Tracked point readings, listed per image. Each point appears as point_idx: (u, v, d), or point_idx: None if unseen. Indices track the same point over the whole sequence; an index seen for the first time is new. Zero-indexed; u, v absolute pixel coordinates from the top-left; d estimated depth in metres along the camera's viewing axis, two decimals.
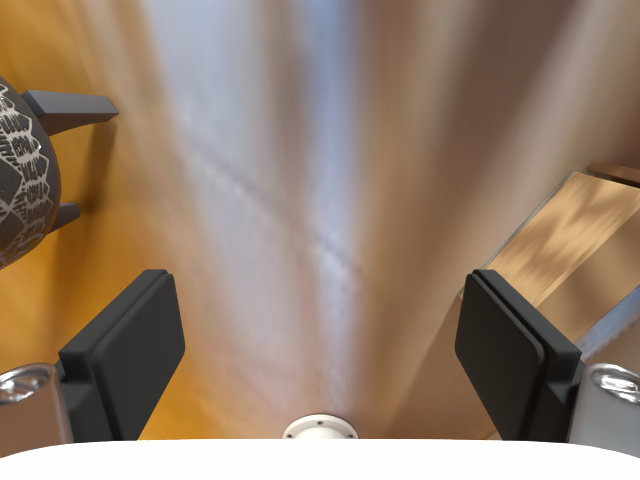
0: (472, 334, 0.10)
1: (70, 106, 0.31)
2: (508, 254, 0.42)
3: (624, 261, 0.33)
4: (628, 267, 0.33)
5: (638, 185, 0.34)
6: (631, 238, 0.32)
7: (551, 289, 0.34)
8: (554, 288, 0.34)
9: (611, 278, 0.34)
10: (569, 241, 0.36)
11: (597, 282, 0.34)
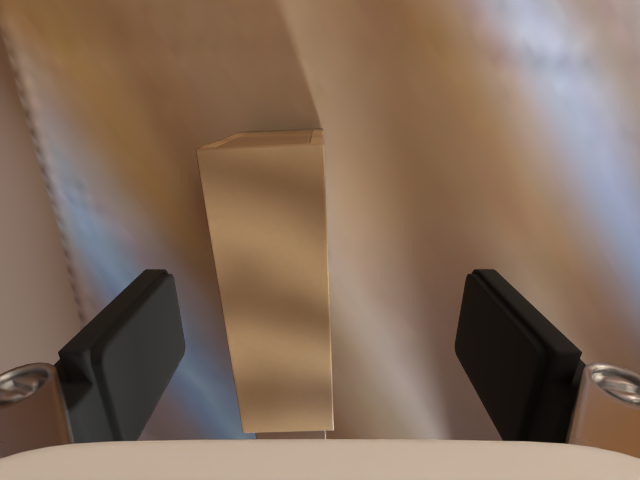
0: (472, 334, 0.10)
1: None
2: None
3: (281, 367, 0.23)
4: (269, 364, 0.23)
5: None
6: (304, 388, 0.23)
7: (328, 282, 0.21)
8: (328, 287, 0.21)
9: (273, 342, 0.22)
10: None
11: (283, 329, 0.22)
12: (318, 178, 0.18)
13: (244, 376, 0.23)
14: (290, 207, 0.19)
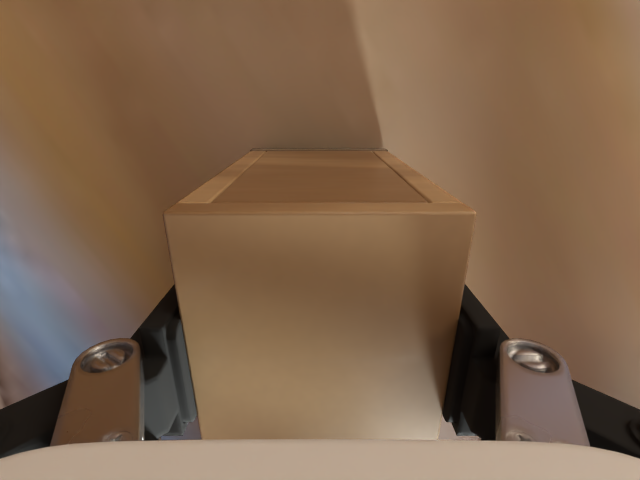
0: None
1: None
2: None
3: None
4: None
5: None
6: None
7: None
8: None
9: None
10: None
11: None
12: (450, 286, 0.08)
13: None
14: (376, 341, 0.08)
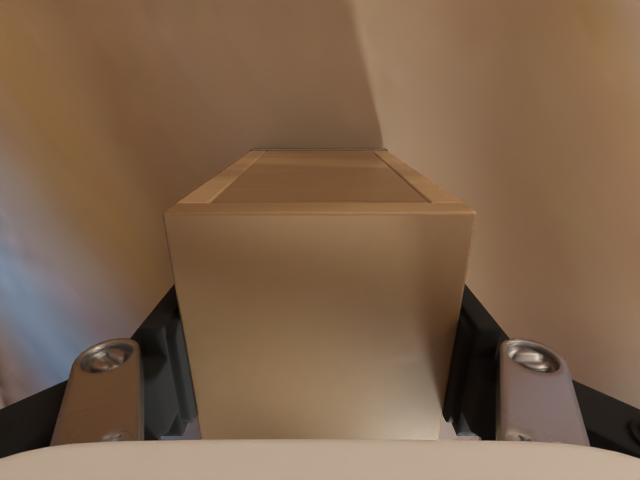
0: None
1: None
2: None
3: None
4: None
5: None
6: None
7: None
8: None
9: None
10: None
11: None
12: (450, 286, 0.08)
13: None
14: (376, 341, 0.08)
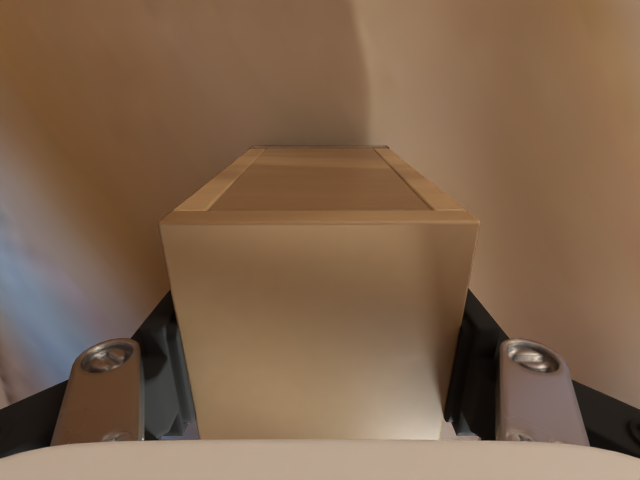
0: None
1: None
2: None
3: None
4: None
5: None
6: None
7: None
8: None
9: None
10: None
11: None
12: (452, 295, 0.08)
13: None
14: (376, 350, 0.08)
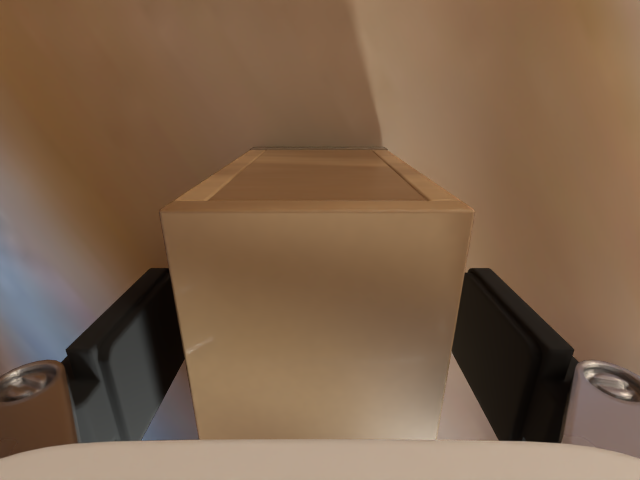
0: (468, 332, 0.10)
1: None
2: None
3: None
4: None
5: None
6: None
7: None
8: None
9: None
10: None
11: None
12: (448, 284, 0.08)
13: None
14: (374, 340, 0.08)
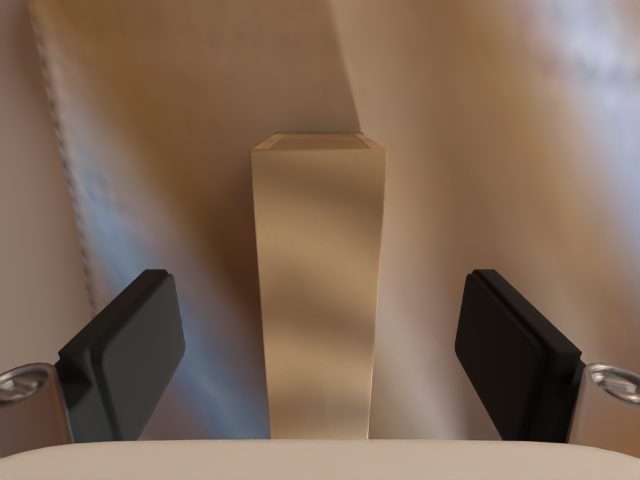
0: (472, 334, 0.10)
1: None
2: None
3: (319, 383, 0.21)
4: (305, 380, 0.21)
5: None
6: (340, 406, 0.22)
7: None
8: None
9: (312, 357, 0.21)
10: None
11: (325, 344, 0.20)
12: (378, 186, 0.17)
13: (278, 391, 0.22)
14: (345, 216, 0.17)
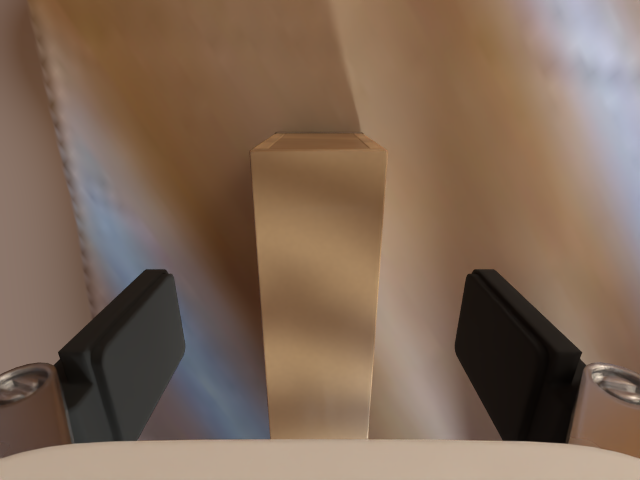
0: (472, 334, 0.10)
1: None
2: None
3: (319, 383, 0.21)
4: (305, 380, 0.21)
5: None
6: (340, 406, 0.22)
7: None
8: None
9: (312, 357, 0.21)
10: None
11: (325, 344, 0.20)
12: (378, 186, 0.17)
13: (278, 391, 0.22)
14: (345, 216, 0.17)
